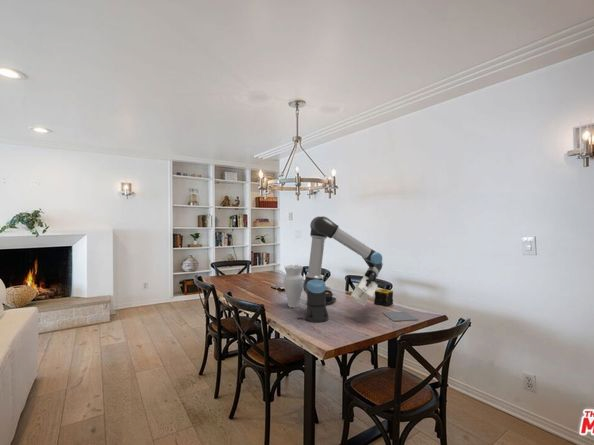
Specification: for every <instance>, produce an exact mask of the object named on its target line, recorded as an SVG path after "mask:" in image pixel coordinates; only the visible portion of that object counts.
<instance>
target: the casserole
mask: <svg viewBox="0 0 594 445" xmlns="http://www.w3.org/2000/svg"><path fill="white" fill-rule="evenodd" d="M336 300H337V297H334V294H333V292H332V291H331V290H330V289H326V305H329V304H332V303H334V302H335V301H336Z"/></svg>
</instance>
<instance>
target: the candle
mask: <svg viewBox="0 0 594 445" xmlns="http://www.w3.org/2000/svg"><path fill="white" fill-rule="evenodd" d="M393 298H394V291H393V290H390V289H386V288H385V289H384V288H379V289H376V290H375V292H374V300H373V302H374V305H375V306H376V305H377V306H382V307H390V306H391V305H393V304H394V299H393Z"/></svg>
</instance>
